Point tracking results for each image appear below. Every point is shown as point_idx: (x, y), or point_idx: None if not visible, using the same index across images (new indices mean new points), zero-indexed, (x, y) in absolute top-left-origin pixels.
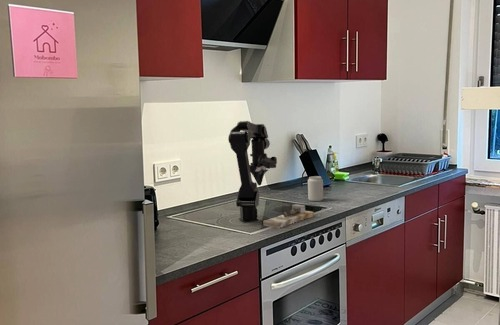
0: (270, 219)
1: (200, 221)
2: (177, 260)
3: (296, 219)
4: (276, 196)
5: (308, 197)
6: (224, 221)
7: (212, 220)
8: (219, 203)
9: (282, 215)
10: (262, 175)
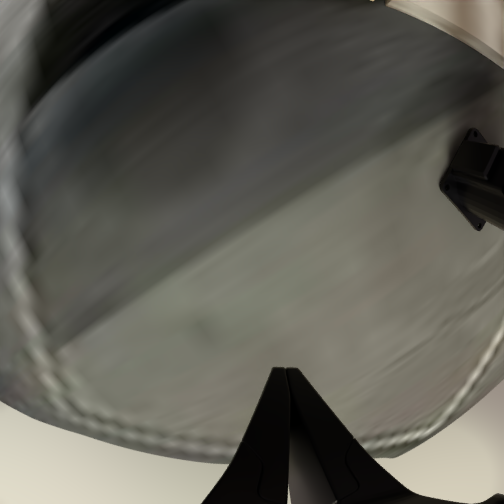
0: (499, 45)
1: (492, 336)
2: None
3: None
4: (6, 338)
5: None
6: (497, 266)
7: (485, 315)
8: (219, 451)
9: (425, 1)
10: (271, 485)
